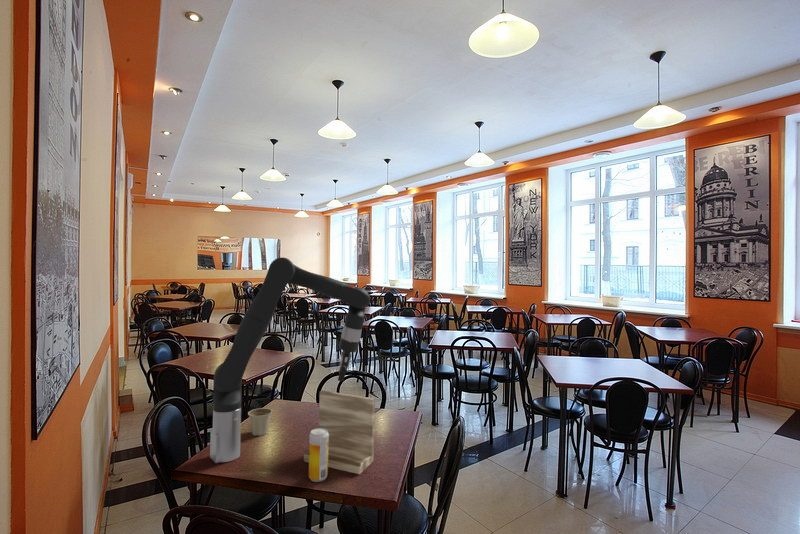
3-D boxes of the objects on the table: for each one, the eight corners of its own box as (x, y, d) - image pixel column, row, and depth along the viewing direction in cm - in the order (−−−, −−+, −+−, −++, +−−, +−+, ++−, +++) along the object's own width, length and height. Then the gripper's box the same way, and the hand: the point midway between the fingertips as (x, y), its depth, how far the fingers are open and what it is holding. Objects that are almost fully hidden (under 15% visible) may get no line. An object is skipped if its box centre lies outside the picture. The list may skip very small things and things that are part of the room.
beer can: (319, 471, 136) (320, 426, 136) (331, 477, 132) (332, 431, 132) (304, 478, 131) (305, 431, 131) (316, 484, 127) (317, 436, 128)
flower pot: (242, 435, 164) (242, 414, 164) (257, 427, 173) (258, 406, 173) (261, 439, 161) (262, 417, 161) (276, 430, 170) (276, 409, 170)
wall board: (359, 474, 134) (360, 407, 135) (303, 461, 143) (305, 398, 143) (373, 460, 144) (374, 398, 145) (320, 449, 153) (322, 390, 153)
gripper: (341, 331, 168) (332, 368, 169) (340, 340, 154) (330, 381, 155) (359, 335, 169) (350, 372, 170) (359, 345, 155) (349, 385, 156)
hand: (341, 376), depth 162 cm, fingers open, 8 cm apart
